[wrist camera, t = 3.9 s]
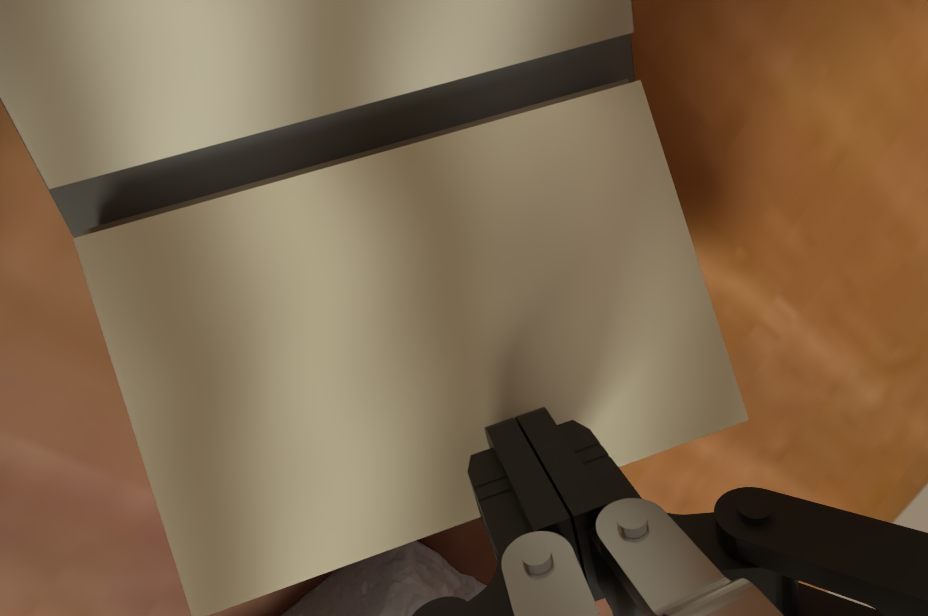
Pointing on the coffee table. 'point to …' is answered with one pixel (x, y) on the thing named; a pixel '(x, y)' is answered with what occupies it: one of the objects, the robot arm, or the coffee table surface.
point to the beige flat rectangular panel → (402, 333)
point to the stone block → (387, 585)
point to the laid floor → (273, 84)
